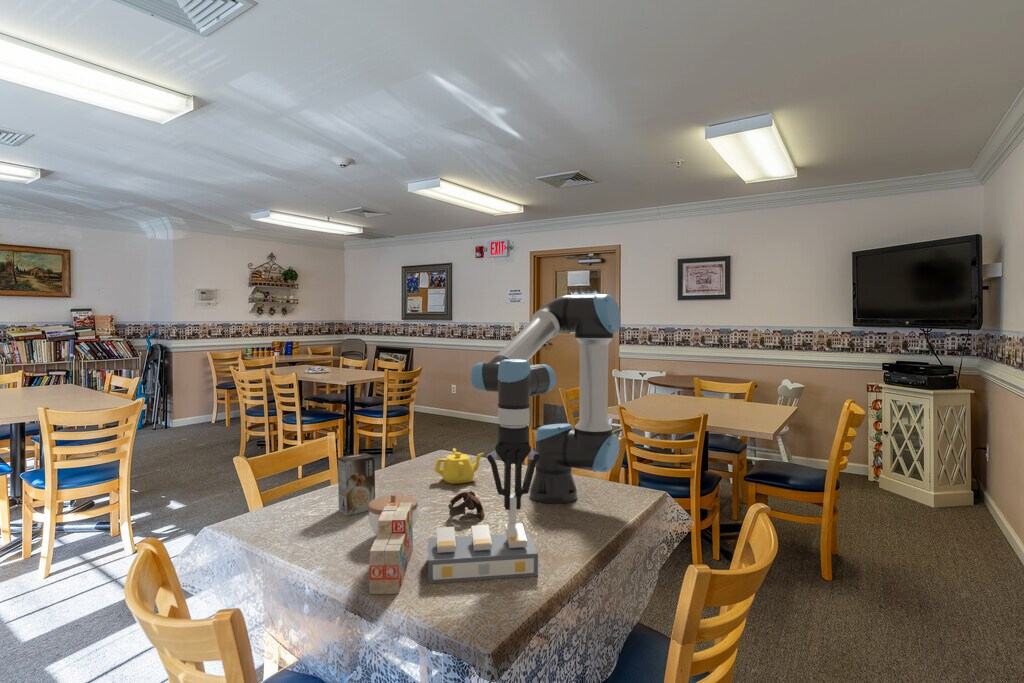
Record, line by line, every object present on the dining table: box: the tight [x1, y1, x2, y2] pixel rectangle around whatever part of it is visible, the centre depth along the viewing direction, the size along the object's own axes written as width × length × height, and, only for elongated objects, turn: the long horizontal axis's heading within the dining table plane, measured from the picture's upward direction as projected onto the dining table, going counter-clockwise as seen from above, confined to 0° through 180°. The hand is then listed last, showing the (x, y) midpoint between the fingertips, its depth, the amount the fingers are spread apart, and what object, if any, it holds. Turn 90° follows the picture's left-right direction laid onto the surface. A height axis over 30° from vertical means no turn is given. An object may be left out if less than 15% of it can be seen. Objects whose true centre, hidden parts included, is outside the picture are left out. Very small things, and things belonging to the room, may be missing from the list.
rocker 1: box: [436, 526, 456, 553], centre depth 121 cm, size 4×7×2 cm, turn 9°
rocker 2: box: [470, 524, 492, 551], centre depth 122 cm, size 4×7×2 cm, turn 9°
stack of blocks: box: [368, 503, 414, 595], centre depth 121 cm, size 21×6×12 cm, turn 3°
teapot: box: [434, 447, 484, 485], centre depth 191 cm, size 14×13×10 cm
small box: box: [504, 522, 527, 548], centre depth 124 cm, size 4×7×2 cm, turn 9°
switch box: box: [427, 532, 539, 584], centre depth 123 cm, size 24×12×6 cm, turn 99°
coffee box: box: [337, 452, 376, 517], centre depth 160 cm, size 9×6×16 cm
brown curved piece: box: [447, 490, 485, 520], centre depth 155 cm, size 12×10×8 cm
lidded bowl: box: [368, 493, 419, 536], centre depth 140 cm, size 13×13×11 cm
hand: (512, 522), depth 128 cm, fingers closed
